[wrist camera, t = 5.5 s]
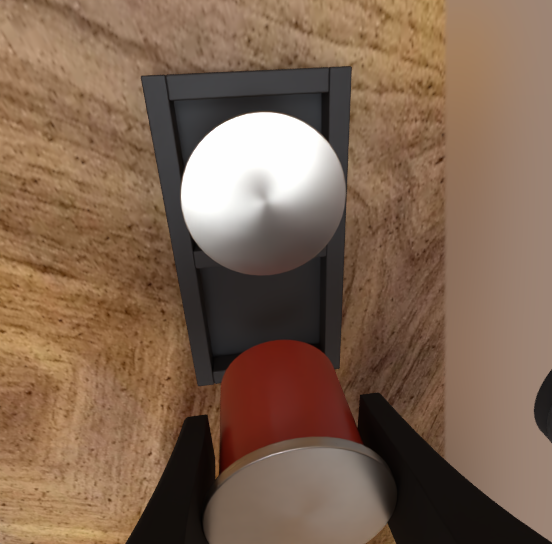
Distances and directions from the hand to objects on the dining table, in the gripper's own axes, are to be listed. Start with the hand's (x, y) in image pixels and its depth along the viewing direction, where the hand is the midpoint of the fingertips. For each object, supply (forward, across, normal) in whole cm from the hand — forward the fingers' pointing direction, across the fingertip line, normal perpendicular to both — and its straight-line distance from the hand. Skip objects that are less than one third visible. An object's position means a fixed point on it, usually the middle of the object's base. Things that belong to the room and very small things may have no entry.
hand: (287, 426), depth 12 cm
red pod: (+2, 0, 0) cm, 2 cm away
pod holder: (+8, 0, -4) cm, 8 cm away
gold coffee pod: (+7, 0, -7) cm, 10 cm away
